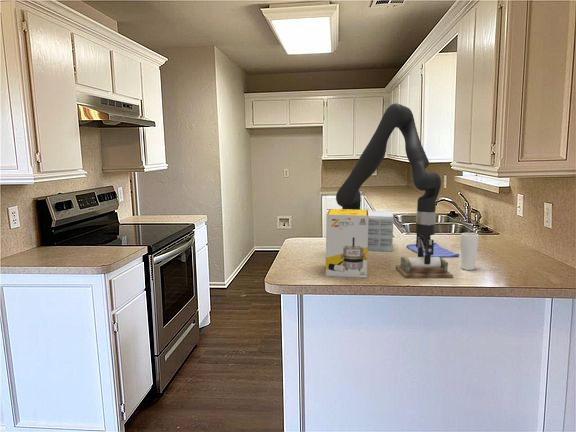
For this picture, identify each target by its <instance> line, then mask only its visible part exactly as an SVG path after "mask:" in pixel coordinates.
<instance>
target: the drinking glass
mask: <svg viewBox="0 0 576 432" xmlns="http://www.w3.org/2000/svg"><path fill="white" fill-rule="evenodd" d="M479 239H480V237H479V234H478V233H475V232H462V233H461V237H460V254H461V255H460V256H461V257H460V258H461V261H460V268H461V269H463V270H465V271H473V270H475V269H476V262H477V261H476V260H477V254H478V248H479V241H480V240H479Z"/></svg>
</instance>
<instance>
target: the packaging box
mask: <svg viewBox="0 0 576 432" xmlns="http://www.w3.org/2000/svg"><path fill="white" fill-rule="evenodd" d="M368 211H369V210H368V209H360V210H351V209H342V208H339V209H337V208H335V209H334V208H331V209H328V211H327V213H326V216H325V217H326V220H325V221H326V224H325V226H326V227H325V229H326V230H325V231H326V233H325V277H338V278H339V277H340V278H344V277H345V278H356V279H357V278H361V279H367V278H368V252H369V251H368V217H369V215H368Z"/></svg>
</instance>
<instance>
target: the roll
mask: <svg viewBox="0 0 576 432" xmlns="http://www.w3.org/2000/svg"><path fill="white" fill-rule="evenodd" d="M406 260H407V261H409V262H410V268H441V261H440V258H439V257H431V259H430V264H424V257H418V256H408V258H407V259H406Z"/></svg>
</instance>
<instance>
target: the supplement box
mask: <svg viewBox="0 0 576 432" xmlns="http://www.w3.org/2000/svg"><path fill="white" fill-rule="evenodd" d="M368 215H369V217H368V252H380V253H381V252H383V253H384V252H386V253H387V252H388V253H392V252H393V241H394V239H393V238H394V220H395V219H394V214H393V211H388V210H387V211H384V210H383V211H381V210H368Z"/></svg>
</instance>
